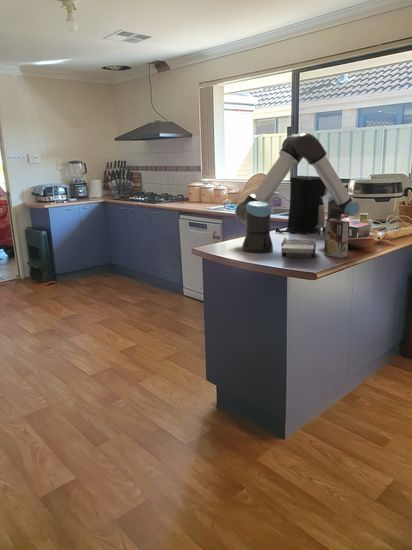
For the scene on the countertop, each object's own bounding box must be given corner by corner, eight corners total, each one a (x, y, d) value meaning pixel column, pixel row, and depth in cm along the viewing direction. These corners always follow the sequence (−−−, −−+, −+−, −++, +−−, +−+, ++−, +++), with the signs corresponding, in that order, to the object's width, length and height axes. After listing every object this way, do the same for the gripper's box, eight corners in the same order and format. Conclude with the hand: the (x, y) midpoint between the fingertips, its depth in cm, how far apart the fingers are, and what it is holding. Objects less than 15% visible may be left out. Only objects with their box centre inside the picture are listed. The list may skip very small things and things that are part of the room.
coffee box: (347, 256, 200) (350, 221, 196) (341, 258, 196) (343, 223, 192) (330, 253, 206) (332, 219, 202) (323, 255, 202) (325, 221, 198)
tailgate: (283, 246, 197) (281, 252, 185) (283, 242, 196) (281, 248, 184) (313, 248, 194) (313, 254, 181) (313, 243, 193) (313, 249, 181)
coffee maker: (333, 230, 270) (337, 175, 262) (304, 237, 249) (307, 177, 240) (302, 226, 286) (305, 174, 277) (272, 232, 265) (274, 176, 256)
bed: (280, 257, 197) (281, 243, 196) (283, 251, 212) (284, 237, 210) (315, 259, 194) (316, 244, 192) (315, 252, 208) (316, 238, 206)
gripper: (358, 234, 226) (362, 241, 206) (309, 232, 232) (309, 239, 212) (359, 219, 224) (364, 226, 204) (310, 218, 230) (310, 224, 210)
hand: (336, 233), depth 208 cm, fingers open, 13 cm apart
